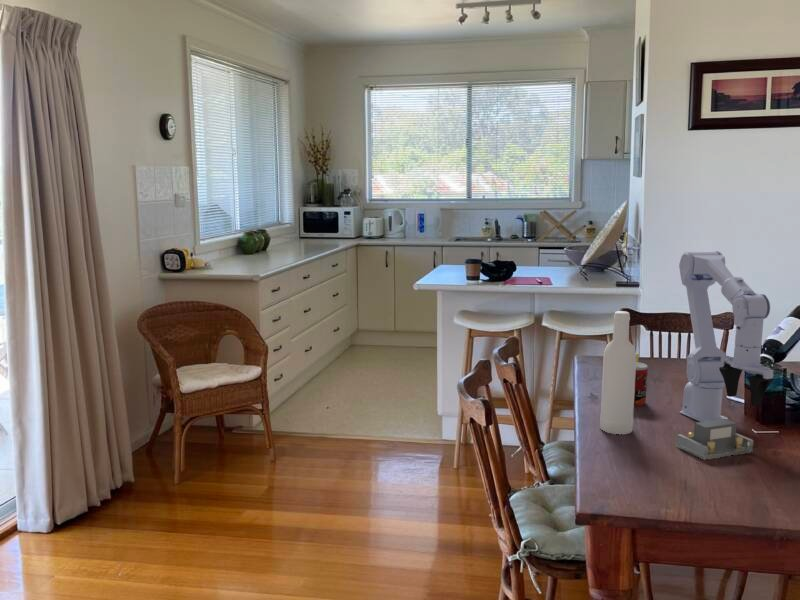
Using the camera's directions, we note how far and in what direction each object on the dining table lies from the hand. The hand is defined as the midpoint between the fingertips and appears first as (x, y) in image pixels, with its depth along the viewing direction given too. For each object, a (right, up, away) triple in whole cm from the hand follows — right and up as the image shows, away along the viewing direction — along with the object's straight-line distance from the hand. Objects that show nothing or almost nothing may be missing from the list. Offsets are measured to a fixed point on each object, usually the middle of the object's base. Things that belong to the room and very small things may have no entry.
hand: (743, 400), depth 182 cm
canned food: (-17, -5, +31) cm, 36 cm away
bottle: (-28, -9, +8) cm, 31 cm away
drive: (-9, -10, -5) cm, 15 cm away
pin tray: (-9, -11, -5) cm, 15 cm away
